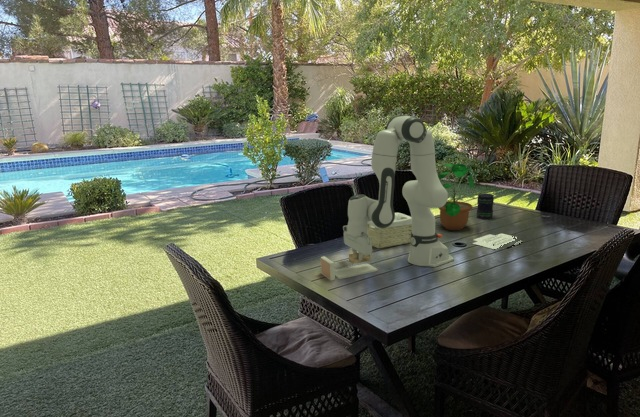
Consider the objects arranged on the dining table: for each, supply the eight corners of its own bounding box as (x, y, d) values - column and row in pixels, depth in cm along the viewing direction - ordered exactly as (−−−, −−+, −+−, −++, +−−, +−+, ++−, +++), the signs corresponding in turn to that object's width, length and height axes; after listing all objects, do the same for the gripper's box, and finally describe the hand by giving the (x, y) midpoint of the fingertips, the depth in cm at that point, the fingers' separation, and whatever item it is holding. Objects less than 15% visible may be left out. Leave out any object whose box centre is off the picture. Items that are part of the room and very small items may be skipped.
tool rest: (367, 265, 225) (367, 263, 225) (377, 271, 217) (377, 269, 217) (330, 272, 217) (330, 270, 217) (339, 279, 209) (339, 277, 209)
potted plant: (441, 219, 304) (443, 158, 294) (483, 227, 283) (486, 162, 274) (412, 228, 283) (414, 163, 274) (455, 238, 263) (458, 168, 254)
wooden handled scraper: (366, 258, 223) (365, 250, 222) (371, 261, 218) (371, 253, 217) (334, 264, 216) (334, 256, 215) (339, 267, 211) (339, 259, 210)
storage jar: (491, 216, 308) (493, 193, 304) (493, 220, 298) (494, 197, 295) (475, 215, 310) (476, 193, 307) (477, 219, 301) (478, 196, 297)
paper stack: (466, 243, 256) (466, 237, 255) (495, 235, 272) (495, 229, 271) (500, 252, 240) (501, 245, 239) (529, 243, 256) (529, 236, 256)
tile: (324, 272, 217) (324, 256, 215) (334, 279, 209) (334, 262, 207) (320, 273, 216) (320, 257, 215) (330, 280, 208) (330, 263, 206)
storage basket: (397, 236, 271) (397, 211, 267) (414, 243, 256) (415, 217, 253) (361, 242, 260) (361, 216, 257) (378, 250, 246) (378, 223, 243)
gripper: (375, 234, 207) (375, 264, 210) (352, 224, 225) (353, 251, 228) (363, 236, 204) (363, 266, 207) (341, 225, 222) (341, 253, 225)
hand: (357, 258), depth 218 cm, fingers closed on wooden handled scraper, 2 cm apart
